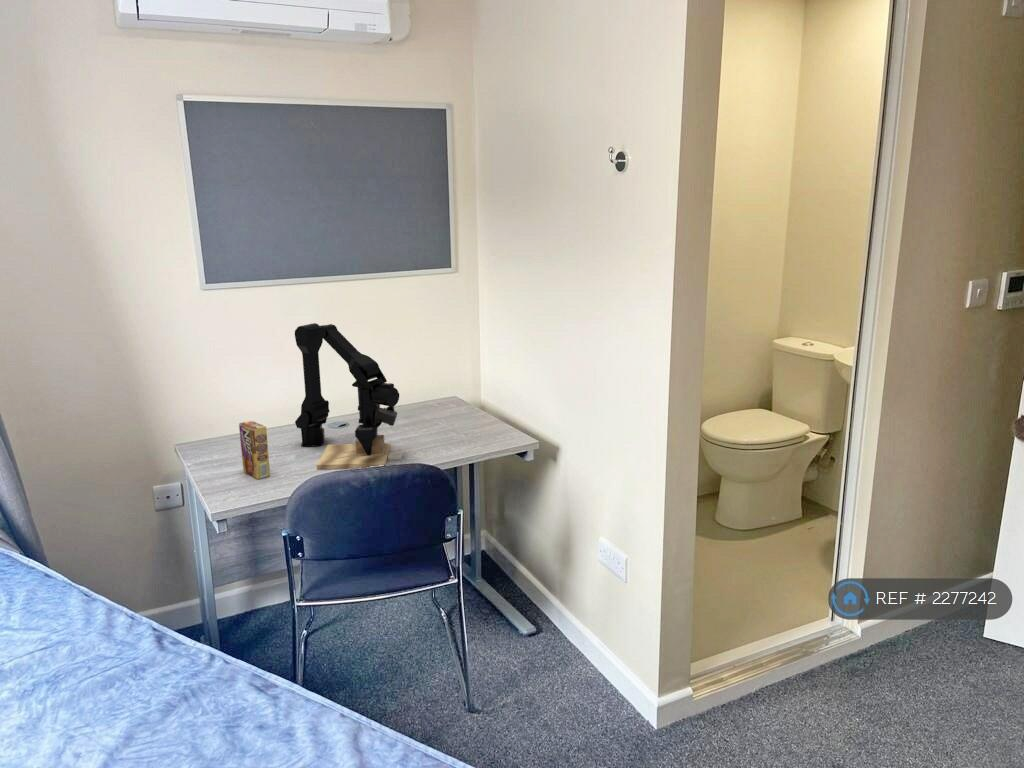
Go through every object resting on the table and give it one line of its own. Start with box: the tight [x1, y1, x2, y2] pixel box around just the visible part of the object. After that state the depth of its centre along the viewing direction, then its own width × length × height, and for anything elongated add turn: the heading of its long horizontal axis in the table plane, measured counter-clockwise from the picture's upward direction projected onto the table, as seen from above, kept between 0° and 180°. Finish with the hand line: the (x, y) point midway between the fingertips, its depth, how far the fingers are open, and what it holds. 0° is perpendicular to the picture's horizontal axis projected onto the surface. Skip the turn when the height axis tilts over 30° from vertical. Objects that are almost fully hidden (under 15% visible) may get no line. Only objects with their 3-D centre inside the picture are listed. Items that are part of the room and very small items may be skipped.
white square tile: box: [387, 451, 403, 461], centre depth 233 cm, size 4×4×1 cm
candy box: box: [238, 420, 271, 480], centre depth 218 cm, size 9×4×15 cm, turn 47°
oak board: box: [316, 442, 391, 471], centre depth 232 cm, size 20×18×2 cm
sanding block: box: [355, 434, 385, 456], centre depth 231 cm, size 8×5×5 cm, turn 93°
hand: (371, 450), depth 232 cm, fingers open, 9 cm apart
